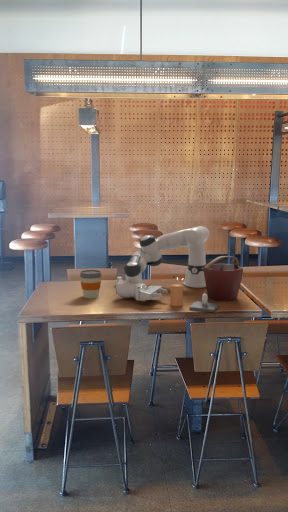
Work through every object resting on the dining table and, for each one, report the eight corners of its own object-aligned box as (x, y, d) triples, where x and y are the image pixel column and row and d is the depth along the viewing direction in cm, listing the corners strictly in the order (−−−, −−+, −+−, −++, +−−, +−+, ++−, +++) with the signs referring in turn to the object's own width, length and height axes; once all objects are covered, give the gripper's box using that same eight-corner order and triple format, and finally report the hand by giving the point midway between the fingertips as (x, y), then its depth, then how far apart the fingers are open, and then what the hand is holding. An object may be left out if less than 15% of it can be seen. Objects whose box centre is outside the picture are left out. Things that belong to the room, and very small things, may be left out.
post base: (196, 303, 255) (196, 289, 254) (218, 306, 250) (219, 292, 249) (189, 309, 243) (190, 295, 242) (213, 312, 238) (213, 297, 237)
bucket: (232, 292, 282) (233, 252, 278) (250, 301, 261) (252, 258, 257) (196, 294, 274) (197, 254, 270) (212, 304, 254) (214, 260, 250)
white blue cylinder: (120, 288, 275) (115, 274, 298) (119, 298, 277) (114, 283, 300) (128, 287, 276) (122, 274, 299) (128, 298, 278) (122, 283, 301)
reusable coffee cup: (98, 299, 263) (97, 274, 260) (77, 298, 265) (77, 273, 263) (104, 294, 275) (103, 270, 272) (84, 293, 277) (84, 269, 275)
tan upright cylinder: (172, 302, 257) (173, 283, 255) (183, 303, 254) (184, 284, 252) (169, 305, 251) (169, 286, 249) (180, 306, 248) (180, 287, 246)
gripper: (148, 292, 269) (170, 294, 264) (134, 300, 250) (158, 303, 245) (148, 282, 268) (170, 284, 263) (134, 289, 249) (158, 292, 244)
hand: (164, 293), depth 254 cm, fingers open, 8 cm apart
